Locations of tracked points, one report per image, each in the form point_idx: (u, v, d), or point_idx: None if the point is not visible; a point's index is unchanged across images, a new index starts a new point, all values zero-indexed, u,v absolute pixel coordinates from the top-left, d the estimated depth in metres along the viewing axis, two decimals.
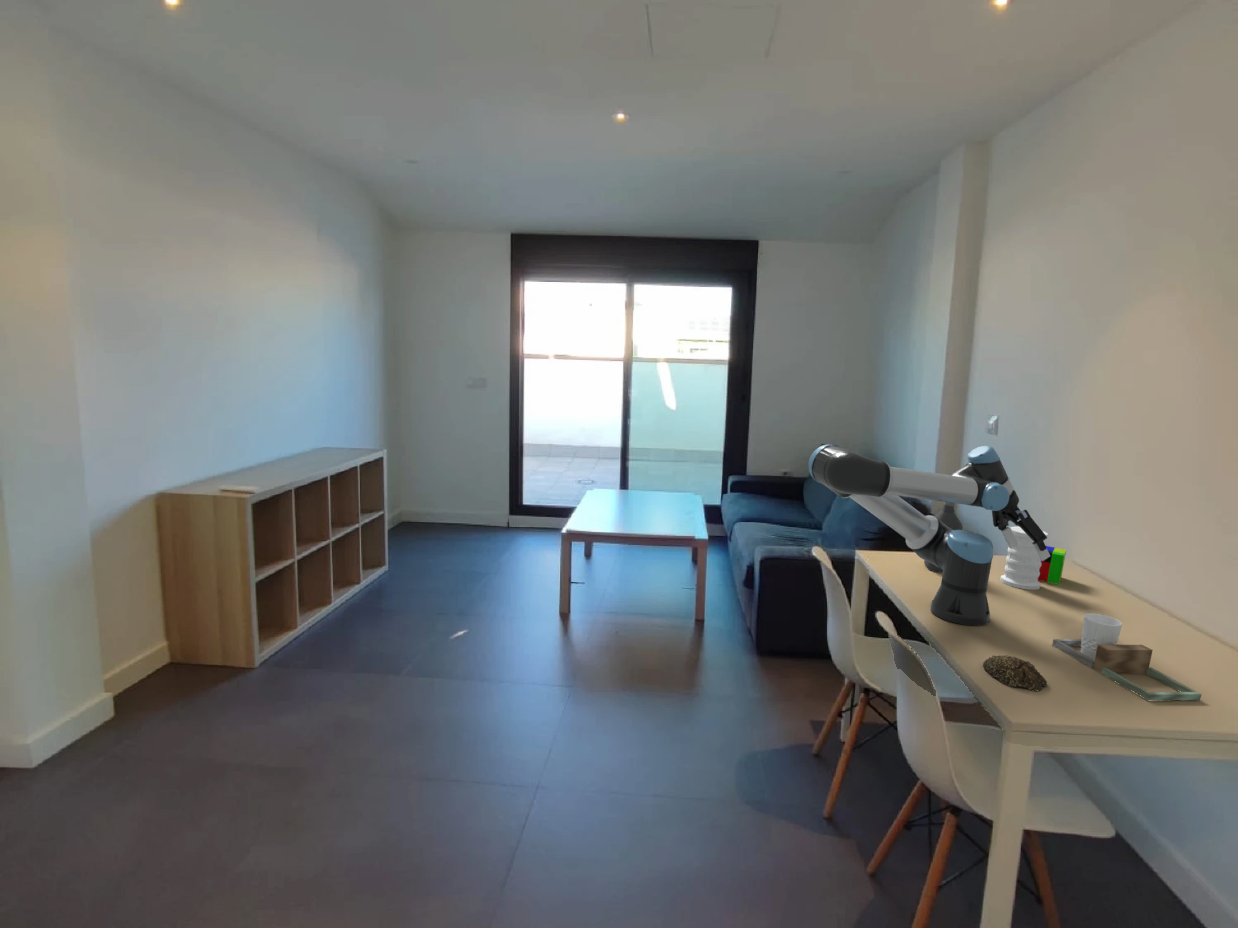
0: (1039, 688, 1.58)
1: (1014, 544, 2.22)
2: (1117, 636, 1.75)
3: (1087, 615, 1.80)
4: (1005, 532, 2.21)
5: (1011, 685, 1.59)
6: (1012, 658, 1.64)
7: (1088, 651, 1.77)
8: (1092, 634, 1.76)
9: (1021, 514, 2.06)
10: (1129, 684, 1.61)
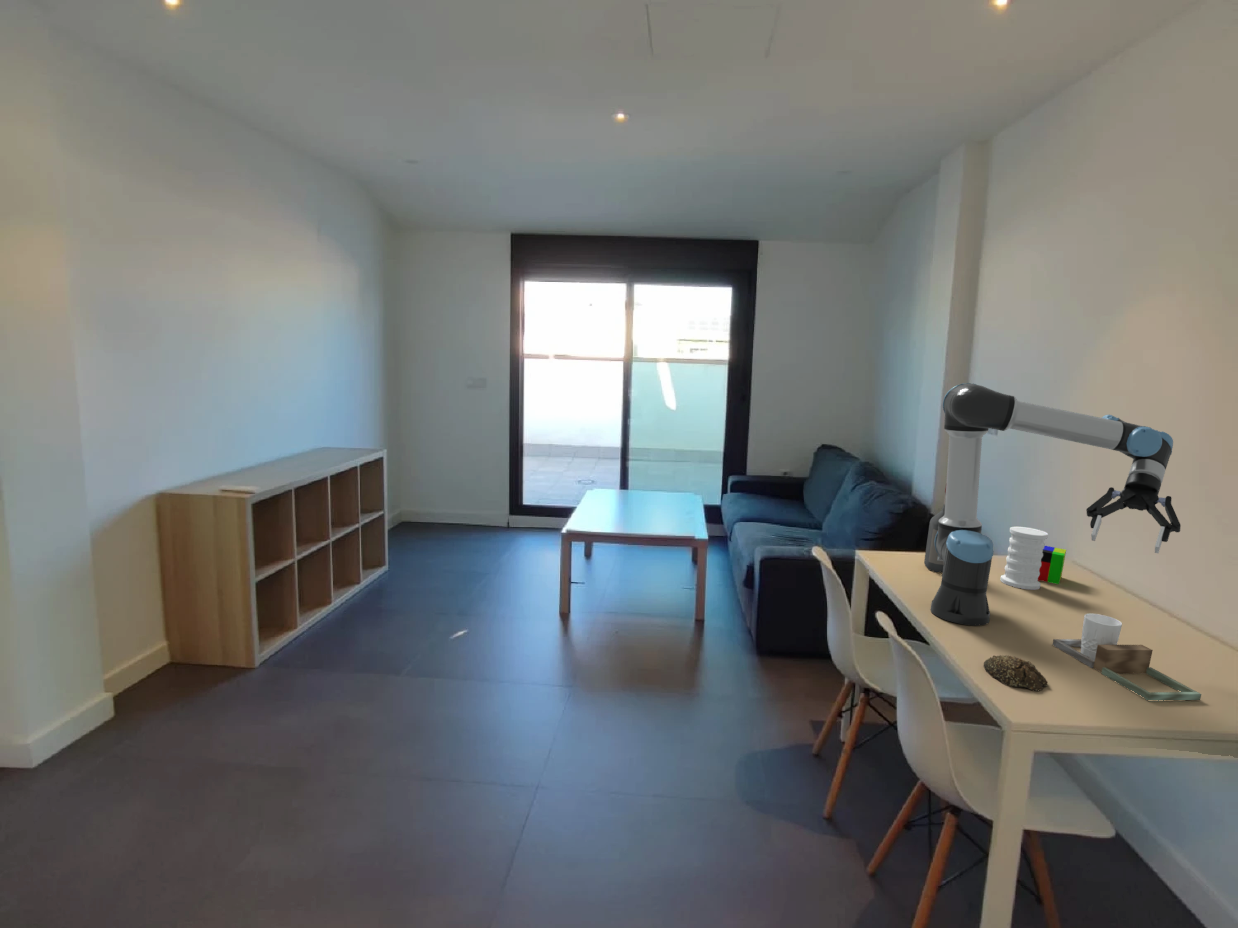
0: (1040, 688, 1.58)
1: (1095, 536, 1.88)
2: (1117, 636, 1.75)
3: (1087, 615, 1.80)
4: (1100, 519, 1.89)
5: (1012, 685, 1.59)
6: (1013, 658, 1.64)
7: (1088, 651, 1.77)
8: (1092, 634, 1.76)
9: None
10: (1129, 684, 1.61)
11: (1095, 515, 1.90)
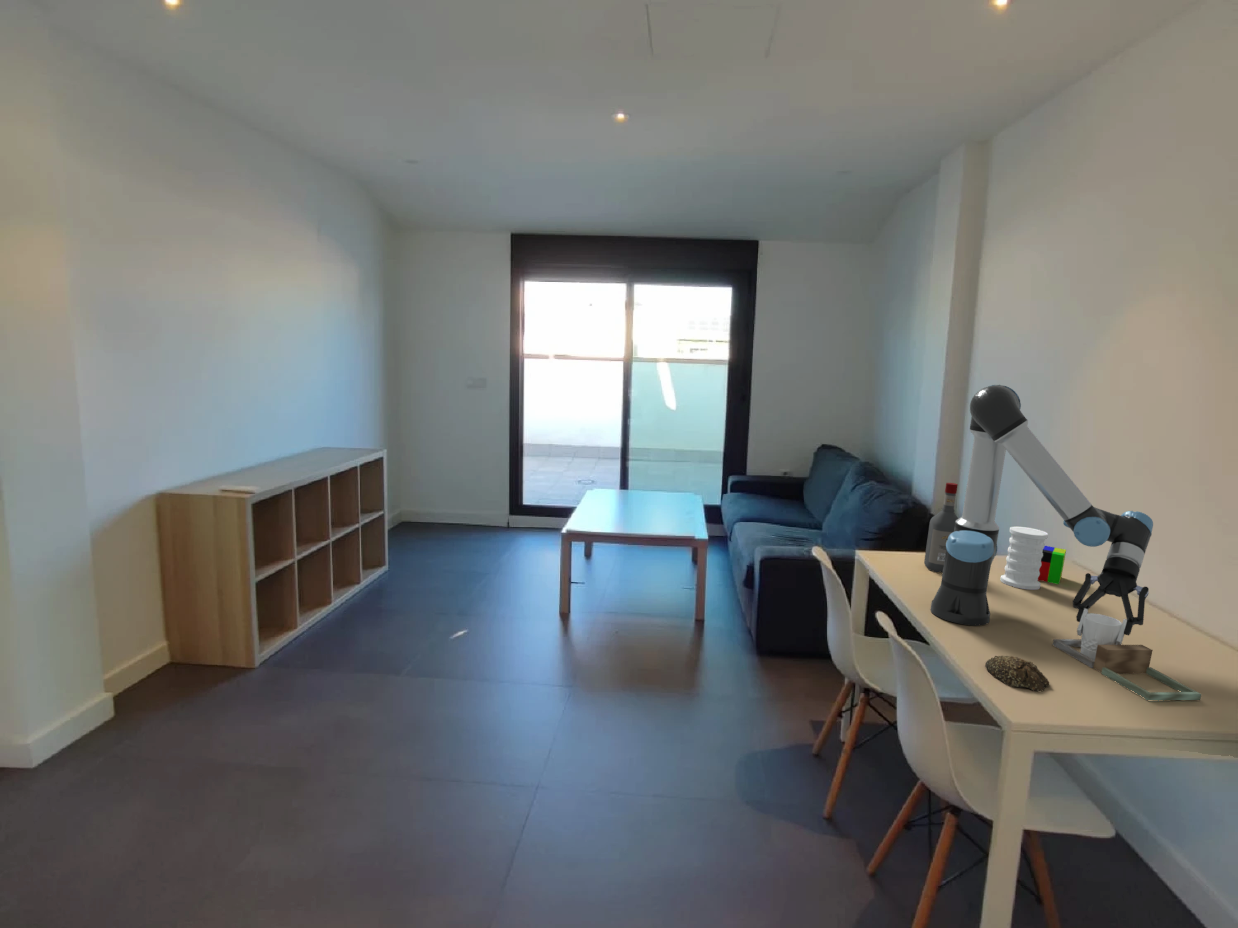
0: (1041, 688, 1.58)
1: (1081, 631, 1.80)
2: (1117, 636, 1.75)
3: (1087, 615, 1.80)
4: (1087, 612, 1.81)
5: (1013, 685, 1.59)
6: (1015, 658, 1.64)
7: (1088, 651, 1.77)
8: (1091, 633, 1.76)
9: (1148, 589, 1.78)
10: (1129, 684, 1.61)
11: (1082, 608, 1.82)
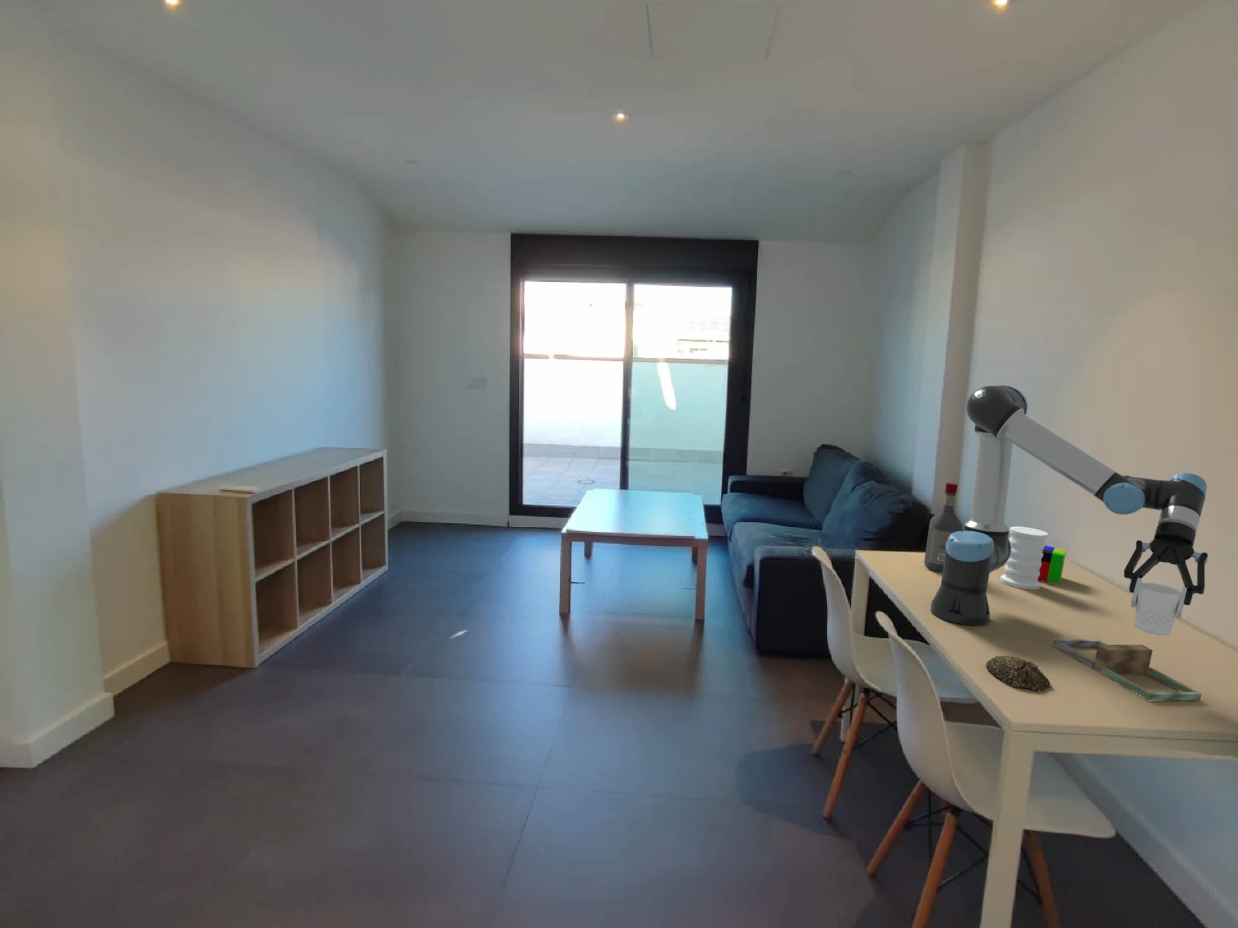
0: (1042, 688, 1.58)
1: (1135, 602, 1.65)
2: (1176, 606, 1.60)
3: (1141, 585, 1.66)
4: (1141, 582, 1.67)
5: (1014, 685, 1.59)
6: (1015, 658, 1.64)
7: (1145, 624, 1.63)
8: (1148, 604, 1.62)
9: None
10: (1129, 684, 1.61)
11: (1135, 578, 1.68)
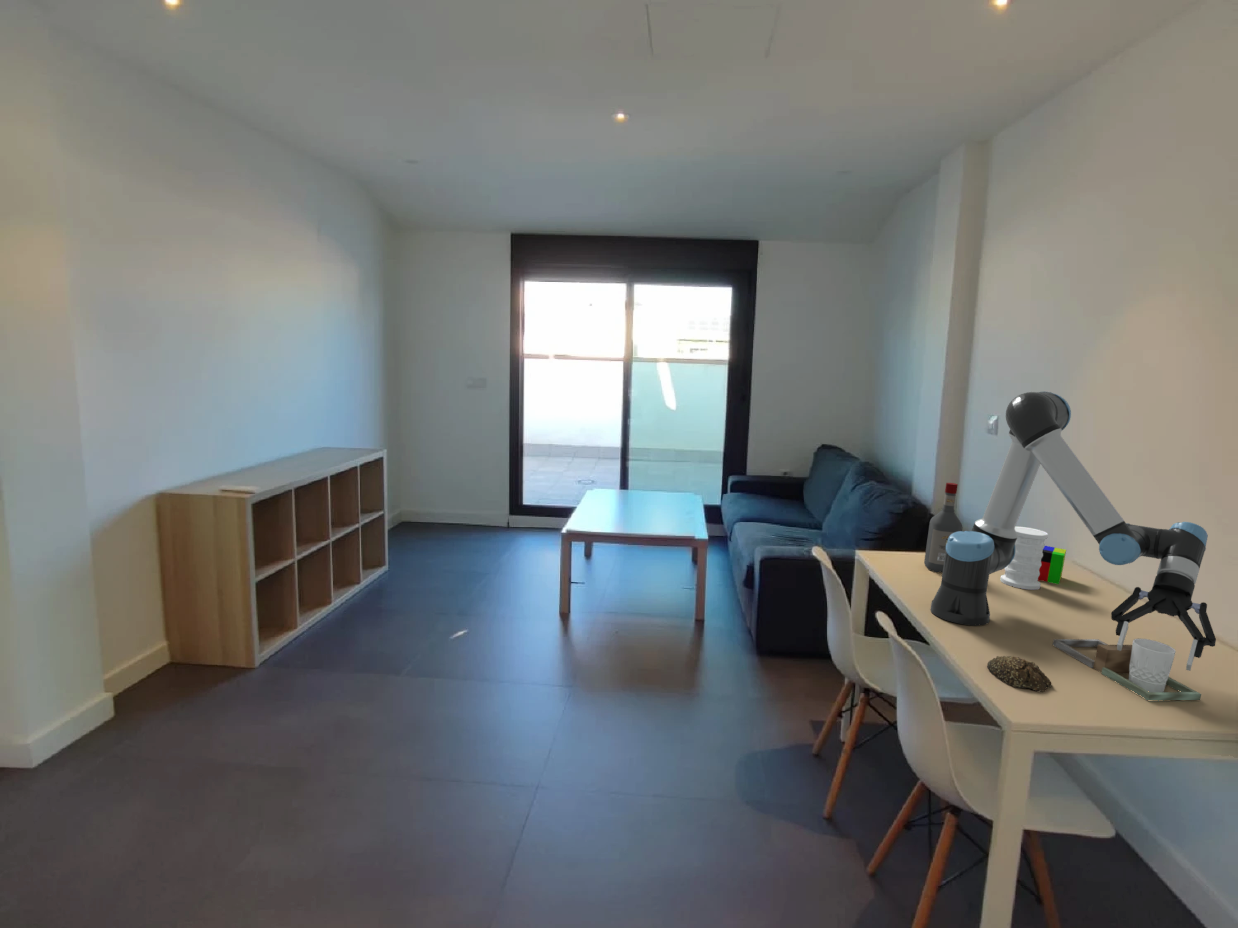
0: (1043, 689, 1.58)
1: (1121, 646, 1.66)
2: (1170, 665, 1.60)
3: (1136, 640, 1.65)
4: (1127, 625, 1.68)
5: (1015, 686, 1.59)
6: (1017, 658, 1.64)
7: (1138, 680, 1.62)
8: (1142, 661, 1.61)
9: None
10: (1129, 684, 1.61)
11: (1121, 620, 1.69)
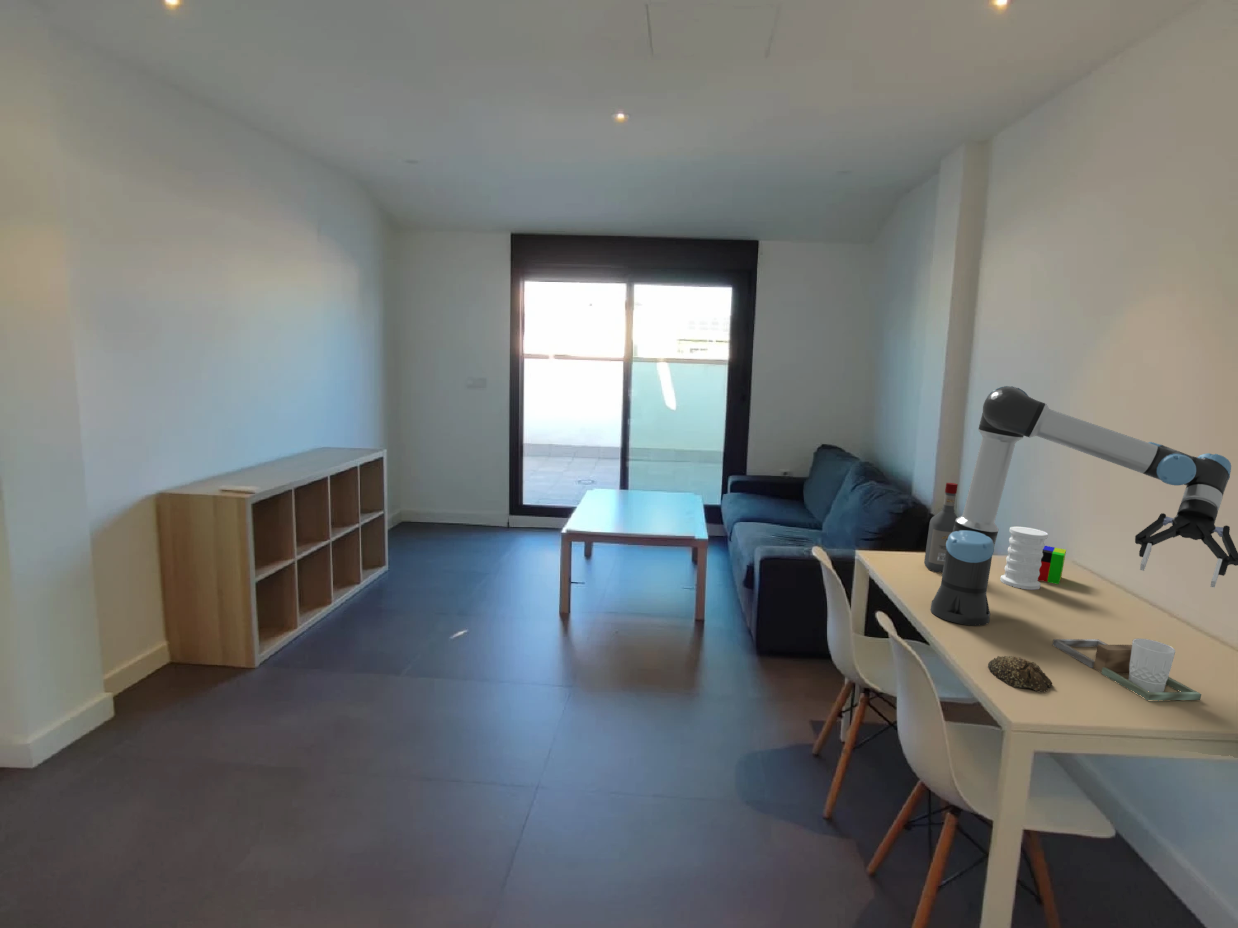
0: (1044, 689, 1.58)
1: (1144, 566, 1.75)
2: (1170, 665, 1.60)
3: (1135, 640, 1.65)
4: (1150, 547, 1.76)
5: (1016, 686, 1.59)
6: (1017, 658, 1.64)
7: (1138, 680, 1.62)
8: (1142, 661, 1.61)
9: None
10: (1129, 684, 1.61)
11: (1145, 543, 1.77)
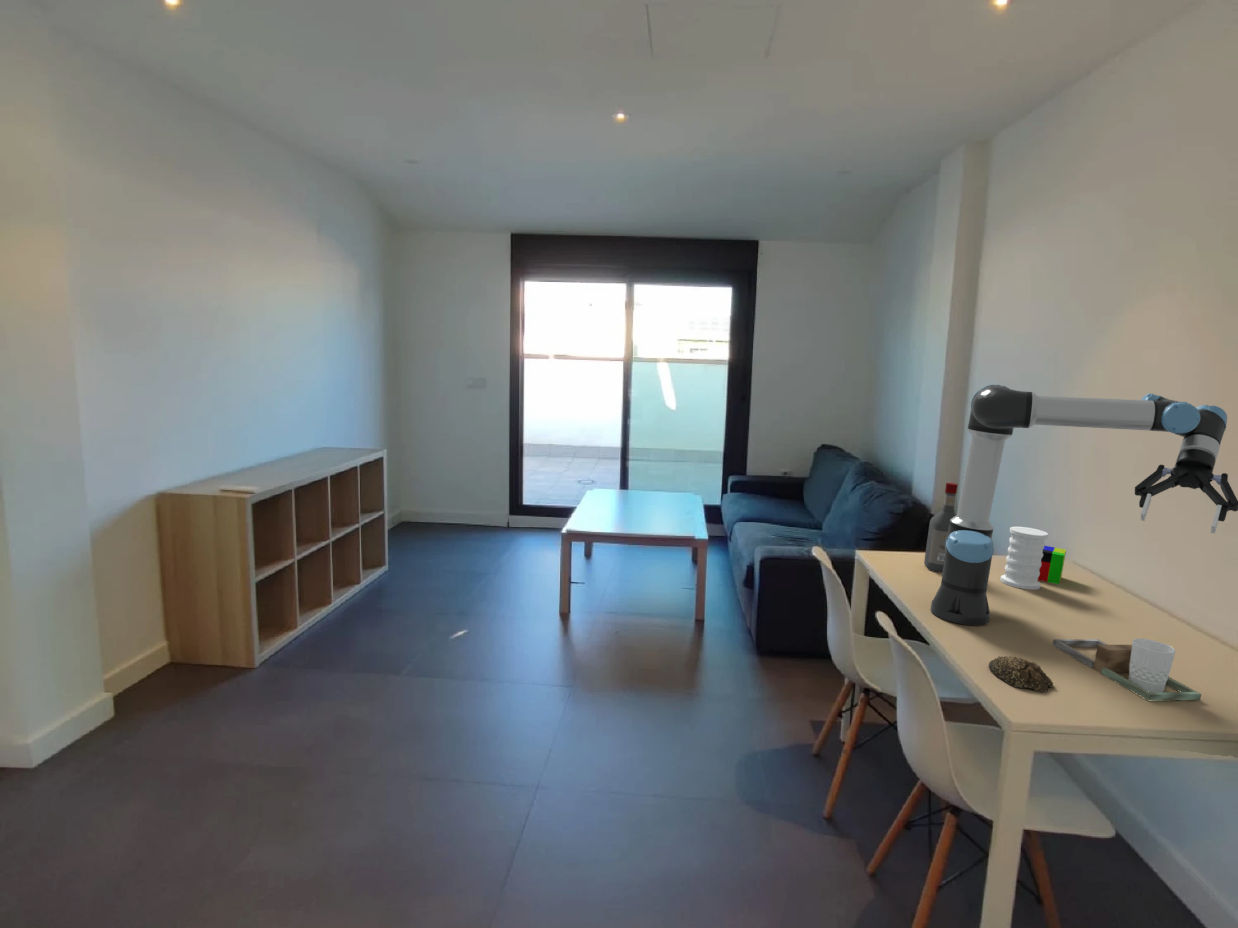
0: (1045, 689, 1.58)
1: (1145, 516, 1.76)
2: (1170, 665, 1.60)
3: (1135, 640, 1.65)
4: (1150, 497, 1.78)
5: (1017, 686, 1.59)
6: (1018, 659, 1.64)
7: (1138, 680, 1.62)
8: (1142, 661, 1.61)
9: None
10: (1129, 684, 1.61)
11: (1144, 493, 1.79)
